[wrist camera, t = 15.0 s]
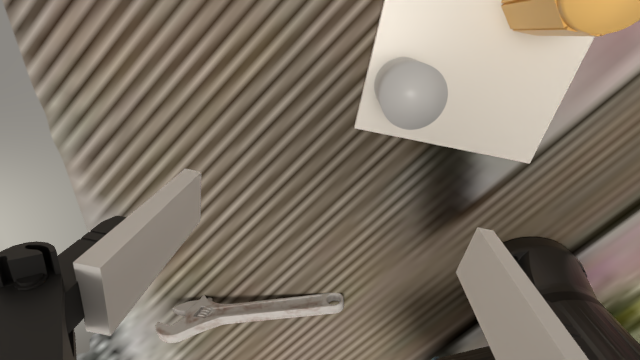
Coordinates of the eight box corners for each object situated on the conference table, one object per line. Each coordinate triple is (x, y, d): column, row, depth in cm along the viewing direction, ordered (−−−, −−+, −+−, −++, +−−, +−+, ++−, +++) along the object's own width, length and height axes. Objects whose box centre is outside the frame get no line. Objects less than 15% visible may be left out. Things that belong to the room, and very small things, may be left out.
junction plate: (523, 159, 40) (571, 193, 32) (354, 125, 40) (356, 150, 31) (626, -47, 31) (734, -78, 22) (405, -93, 31) (428, -142, 22)
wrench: (341, 287, 56) (172, 305, 56) (340, 279, 55) (169, 297, 55) (346, 325, 48) (152, 345, 48) (345, 316, 47) (148, 337, 48)
